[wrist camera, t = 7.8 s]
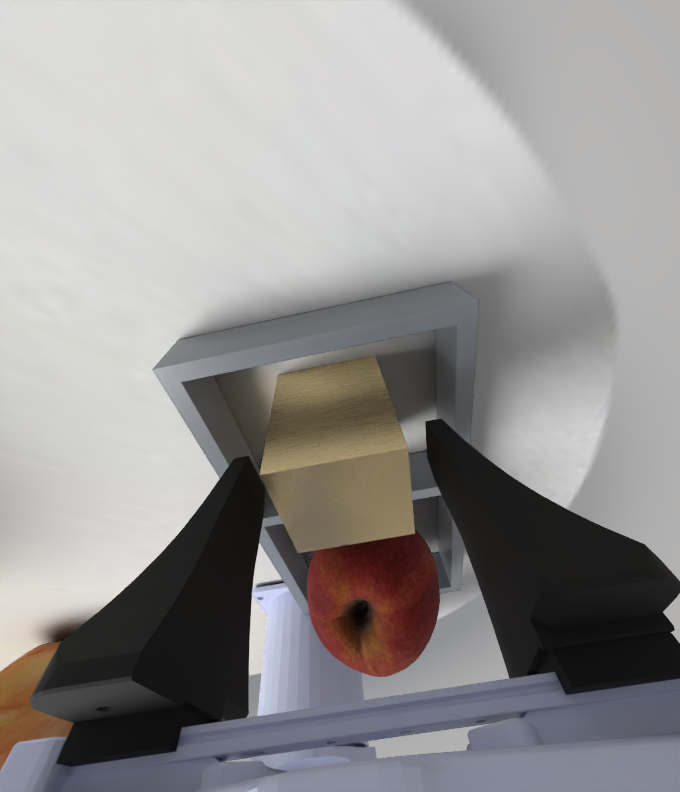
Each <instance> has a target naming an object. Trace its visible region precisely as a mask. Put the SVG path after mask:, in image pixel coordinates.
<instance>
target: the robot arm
mask: <svg viewBox="0 0 680 792" xmlns="http://www.w3.org/2000/svg"><path fill="white" fill-rule="evenodd" d="M426 443H427V459H428V462H429V465H430V468H431V471H432V474H433V477H434V480H435V482H436V484H437V486H438V488H439V491H440V493H441V495H442V497H443V499H444V501H445V503H446V505H447V507H448V510H449V512H450V514H451V516H452V518H453V520H454V522H455V524H456V526H457V528H458V531H459V533H460V535H461V537H462V540H463V542H464V545H465V547H466V550H467V553H468V556H469V558H470V561H471V564H472V566H473V569H474V572H475V575H476V578H477V581H478V583H479V586H480V589H481V592H482V595H483V598H484V601H485V604H486V606H487V609H488V613H489V616H490V618H491V621H492V624H493V627H494V630H495V634H496V637H497V640H498V643H499V646H500V649H501V652H502V655H503V658H504V662H505V665H506V668H507V671H508V675H509V678H510V679H505V680H497V681H491V682H484V683H477V684H471V685H464V686H457V687H451V688H444V689H437V690H430V691H423V692H417V693H411V694H403V695H397V696H390V697H384V698H376V699H370V700H364V693H363V683H362V673H361V672H359V671H356V670H353V669H352V668H350V667H348V666H346V665H345V664H343V663H342V662H341V661H339V660H338V659H336V658H335V657H334V656H333V655H332V654H331V653H330V652H329V651H328V650H327V649H326V648H325V647H324V645H323V644H322V642H321V641H320V639H319V637H318V636H317V634H316V632H315V630H314V627H313V625H312V622H311V618H310V615H304V614H303V612H302V610H301V609H300V607H299V606H298V604H297V602H296V601H295V599H294V597H293V596H292V594H291V593H290V591H289V589H288V588H287V586H286V585H285V583H281V584H275V585H269V586H263V587H257V588H254V589H253V590H252V586H253V576H254V568H255V562H256V557H257V551H258V545H259V540H260V534H261V528H262V522H263V516H264V505H265V487H264V485H263V483H262V481H261V479H260V477H259V475H258V473H257V471H256V469H255V467H254V465H253V463H252V461H251V459H250V457H249V456H244V457H239V458H234V459H233V461H232V462H231V463H230V465H229V466H228V468H227V469H226V471H225V472H224V474H223V475H222V476H221V478H220V479H219V481H218V482H217V484H216V485H215V487H214V488H213V490H212V491H211V492H210V494H209V495H208V497H207V498H206V499H205V501H204V502H203V504H202V505H201V506H200V507H199V509H198V510H197V511H196V513H195V514H194V515H193V516H192V518H191V519H190V520H189V522H188V523H187V524H186V525H185V527H184V528H183V529H182V530H181V532H180V533H179V534H178V535H177V536H176V537H175V539H174V540H173V541H172V542H171V543H170V544H169V545H168V546H167V547H166V549H165V550H164V551H163V552H162V553H161V554H160V555H159V556H158V557H157V558H156V559H155V560H154V561H153V562H152V563H151V564H150V565H149V566H148V567H147V568H146V569H145V570H144V571H143V572H142V573H141V574H140V575H139V576H138V577H137V578H136V579H135V580H134V581H133V582H132V583H131V584H130V585H129V586H127V587H126V588H125V589H124V590H123V591H122V592H121V593H120V594H119V595H117V596H116V597H115V598H114V599H113V600H112V601H111V602H110V603H108V604H107V605H106V606H105V607H104V608H103V609H101V610H100V611H99V612H98V613H97V614H95V615H94V616H93V617H92V618H90V619H89V620H88V621H87V622H86V623H84V624H83V625H82V626H81V627H79V628H78V629H77V630H76V631H74V632H73V633H72V634H71V635H69V636H68V637H67V638H66V639H64V640H63V641H62V642H61V643H60V644H59V646H58V648H57V650H56V651H55V653H54V655H53V657H52V659H51V660H50V662H49V664H48V666H47V668H46V669H45V671H44V673H43V675H42V677H41V679H40V680H39V682H38V684H37V686H36V688H35V689H34V691H33V693H32V695H31V697H30V704H31V707H33V708H34V709H35V710H37V711H39V712H42V713H45V714H48V715H51V716H54V717H57V718H60V719H63V720H66V721H69V722H73V723H74V724H73V726H72V728H71V730H70V733H69V735H68V737H50V738H43V739H36V740H30V741H23V742H18V743H17V744H16V745H14V747H13V748H12V750H11V752H10V754H9V756H8V758H7V760H6V762H5V763H4V765H3V767H2V769H1V771H0V792H680V643H679V642H678V641H677V640H676V638H675V637H674V636H673V634H672V633H671V632H672V631H674V626H673V625H672V623H671V622H670V621H669V619H668V618H667V617H666V616H665V615H664V613H663V611H664V610H665V609H666V608H667V607H668V606H669V605H670V604H671V603H672V602H673V600H674V599H675V598H676V597H677V596H678V594H679V593H680V581H679V580H678V579H677V578H676V576H675V575H674V574H673V573H672V572H671V571H670V570H669V569H668V568H667V566H665V564H664V563H663V562H662V561H661V560H660V559H659V558H658V557H657V556H656V555H655V554H654V553H653V552H652V551H651V550H650V549H649V548H648V547H647V546H646V545H645V544H642V543H640V542H638V541H635V540H633V539H630V538H628V537H626V536H623V535H621V534H618V533H616V532H614V531H611V530H609V529H607V528H604V527H602V526H600V525H598V524H596V523H594V522H591V521H589V520H587V519H585V518H583V517H581V516H579V515H577V514H575V513H573V512H571V511H569V510H567V509H565V508H563V507H562V506H560V505H558V504H556V503H554V502H552V501H551V500H549V499H547V498H545V497H543V496H541V495H540V494H538V493H536V492H535V491H533V490H532V489H530V488H528V487H527V486H525V485H524V484H522V483H520V482H519V481H517V480H516V479H514V478H513V477H511V476H510V475H508V474H507V473H506V472H504V471H503V470H501V469H500V468H499V467H497V466H496V465H495V464H493V463H492V462H491V461H489V460H488V459H487V458H486V457H484V456H483V455H482V454H481V453H479V452H478V451H477V450H476V449H475V448H473V447H472V446H471V445H470V444H469V443H468V442H466V441H465V440H464V439H463V438H462V437H461V436H460V435H459V434H458V433H456V432H455V431H454V430H453V429H452V428H451V427H450V426H449V425H448V424H447V423H446V422H445V421H444V420H442V419H436V420H431V421H426ZM252 597H253V598H254V599H255V600H256V602H257V603H258V604H259V605H260V607H261V608H262V609H263V611H264V612H265V613H266V614H267V616H268V620H267V629H266V638H265V648H264V657H263V667H262V676H261V686H260V695H259V705H258V714H257V716H256V717H249V718H246V717H247V715H248V713H249V711H248V710H249V709H248V676H249V634H250V616H251V600H252ZM490 723H493V724H490ZM482 724H490V725H486V726H483V727H479V728H476V729H472V730H469V732H468V739H469V742H470V744H468V746H467V751H455V752H443V753H431V754H418V755H407V756H396V757H387V758H378V759H377V758H376V749H375V747H369V745H368V741H371V740H378V739H384V738H392V737H398V736H405V735H413V734H420V733H427V732H433V731H441V730H448V729H454V728H461V727H469V726H476V725H482ZM243 758H249V761H240V762H225V761H230V760H237V759H243Z"/></svg>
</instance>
